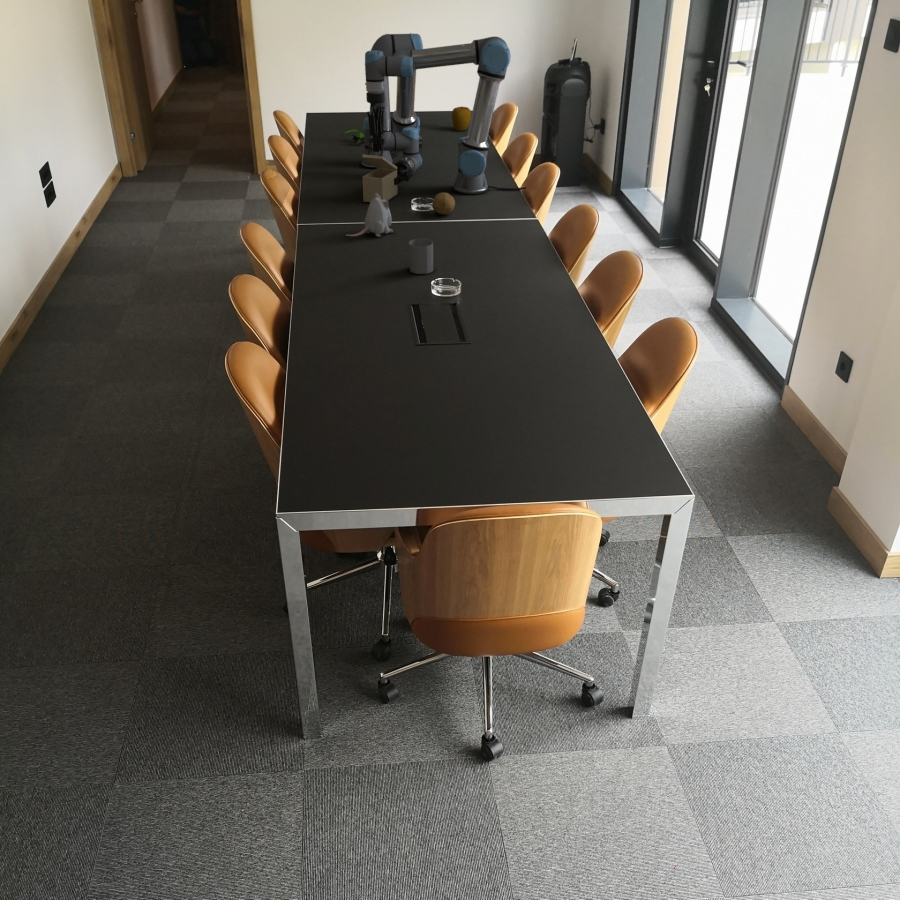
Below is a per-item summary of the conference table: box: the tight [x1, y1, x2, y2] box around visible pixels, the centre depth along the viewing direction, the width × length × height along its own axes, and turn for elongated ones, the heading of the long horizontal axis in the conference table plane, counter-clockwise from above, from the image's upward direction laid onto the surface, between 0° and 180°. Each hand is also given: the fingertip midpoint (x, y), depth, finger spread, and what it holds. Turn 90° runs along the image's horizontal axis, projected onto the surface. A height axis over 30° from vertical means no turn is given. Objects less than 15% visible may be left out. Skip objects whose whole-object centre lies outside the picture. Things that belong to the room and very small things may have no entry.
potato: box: [431, 192, 456, 216], centre depth 360 cm, size 10×14×8 cm
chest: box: [362, 168, 399, 203], centre depth 379 cm, size 17×9×10 cm, turn 161°
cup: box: [408, 237, 434, 275], centre depth 305 cm, size 8×8×10 cm
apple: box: [451, 105, 472, 132], centre depth 487 cm, size 11×11×13 cm
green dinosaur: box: [343, 129, 365, 146], centre depth 465 cm, size 6×13×30 cm
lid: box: [362, 138, 397, 170], centre depth 373 cm, size 18×9×9 cm, turn 160°
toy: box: [346, 193, 394, 238], centre depth 334 cm, size 9×24×15 cm, turn 137°
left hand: (384, 181), depth 382 cm, fingers closed on chest, 9 cm apart
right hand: (377, 150), depth 369 cm, fingers closed on lid, 2 cm apart
